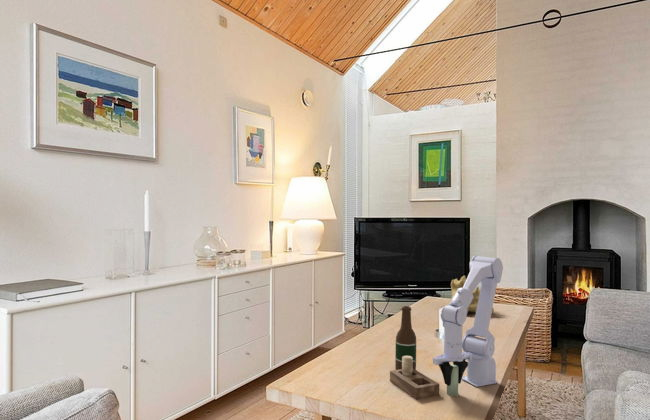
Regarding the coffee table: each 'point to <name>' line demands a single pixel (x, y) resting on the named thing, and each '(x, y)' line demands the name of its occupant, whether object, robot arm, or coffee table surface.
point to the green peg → (453, 382)
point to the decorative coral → (473, 305)
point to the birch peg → (407, 365)
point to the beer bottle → (405, 339)
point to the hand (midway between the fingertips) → (452, 383)
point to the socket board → (415, 384)
